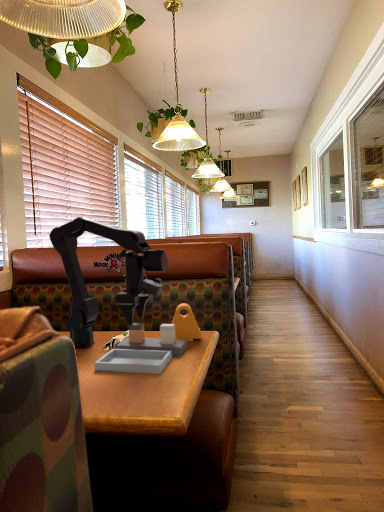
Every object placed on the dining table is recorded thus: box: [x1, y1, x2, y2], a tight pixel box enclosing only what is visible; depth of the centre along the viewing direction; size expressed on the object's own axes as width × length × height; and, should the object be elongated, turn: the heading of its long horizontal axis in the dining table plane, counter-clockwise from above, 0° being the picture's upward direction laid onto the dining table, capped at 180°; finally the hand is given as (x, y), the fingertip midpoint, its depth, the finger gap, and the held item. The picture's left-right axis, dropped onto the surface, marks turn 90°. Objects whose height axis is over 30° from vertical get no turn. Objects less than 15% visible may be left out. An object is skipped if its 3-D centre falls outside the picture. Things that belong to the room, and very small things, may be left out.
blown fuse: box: [128, 322, 146, 343], centre depth 116 cm, size 4×3×8 cm
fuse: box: [159, 323, 175, 345], centre depth 114 cm, size 4×3×8 cm
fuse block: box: [115, 336, 188, 357], centre depth 115 cm, size 20×9×2 cm, turn 79°
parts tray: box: [94, 348, 173, 375], centre depth 102 cm, size 18×12×2 cm, turn 79°
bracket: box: [171, 302, 202, 342], centre depth 127 cm, size 11×7×12 cm, turn 92°
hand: (135, 321), depth 115 cm, fingers open, 9 cm apart
